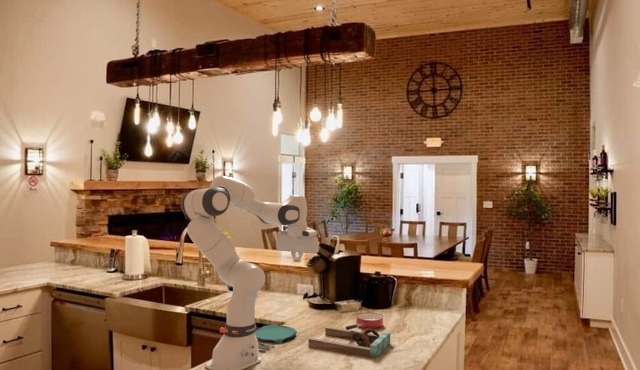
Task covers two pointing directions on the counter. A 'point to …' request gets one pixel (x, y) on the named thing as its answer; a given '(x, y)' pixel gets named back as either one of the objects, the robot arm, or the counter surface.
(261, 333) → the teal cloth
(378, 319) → the frying pan
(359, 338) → the dark brown looped piece
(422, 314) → the counter surface
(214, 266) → the robot arm
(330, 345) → the guide
